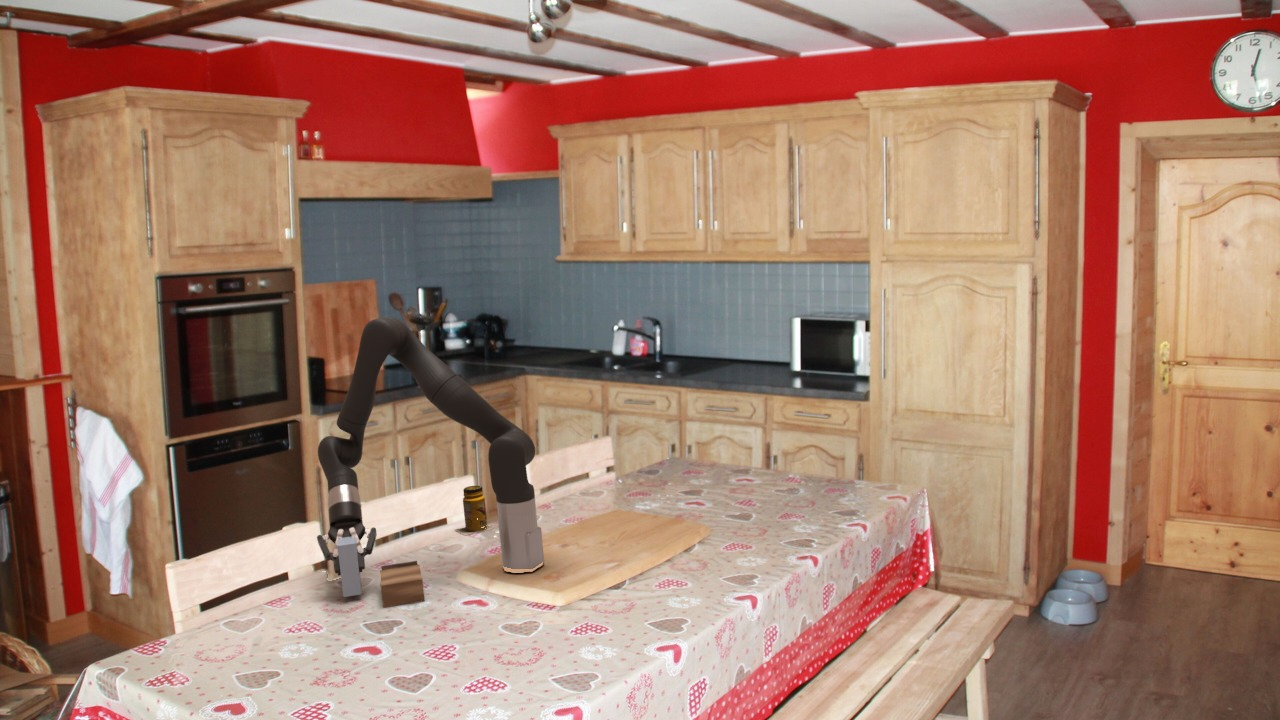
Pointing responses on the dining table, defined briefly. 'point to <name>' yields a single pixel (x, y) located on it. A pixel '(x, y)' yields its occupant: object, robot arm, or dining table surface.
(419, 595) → the wooden grain block
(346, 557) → the tall grey pillar
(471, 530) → the condiment
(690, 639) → the dining table surface
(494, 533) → the dining table surface
